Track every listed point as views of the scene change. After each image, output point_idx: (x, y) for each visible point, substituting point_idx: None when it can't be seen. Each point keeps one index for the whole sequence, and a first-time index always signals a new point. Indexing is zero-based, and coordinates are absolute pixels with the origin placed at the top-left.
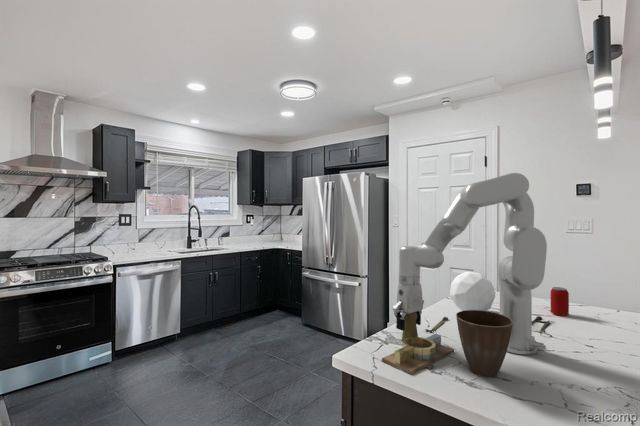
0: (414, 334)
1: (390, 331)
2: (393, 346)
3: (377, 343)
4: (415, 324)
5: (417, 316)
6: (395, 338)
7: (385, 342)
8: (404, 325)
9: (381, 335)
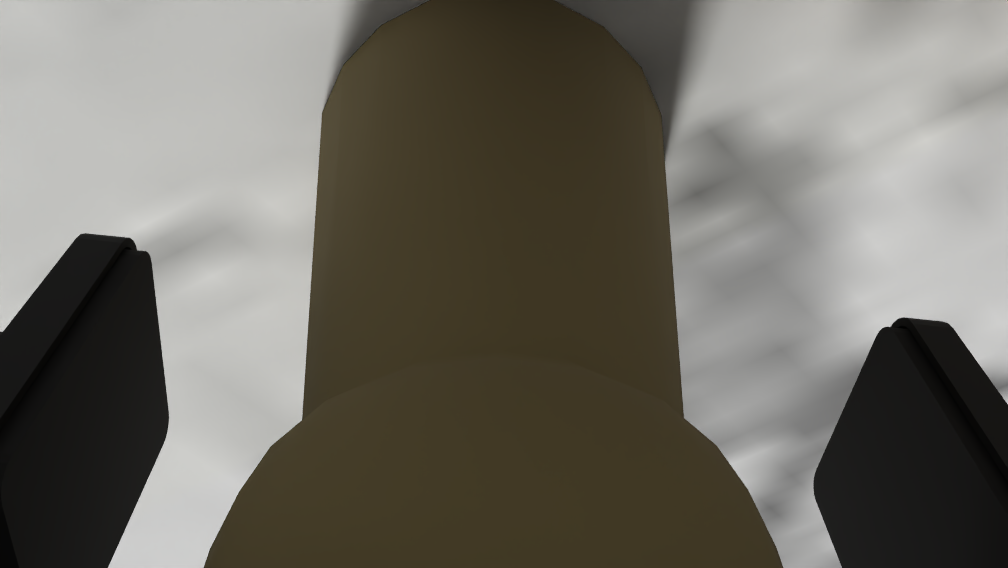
0: (570, 112)
1: None
2: (956, 240)
3: None
4: (486, 260)
5: (55, 479)
6: None
7: None
8: (976, 405)
9: None
